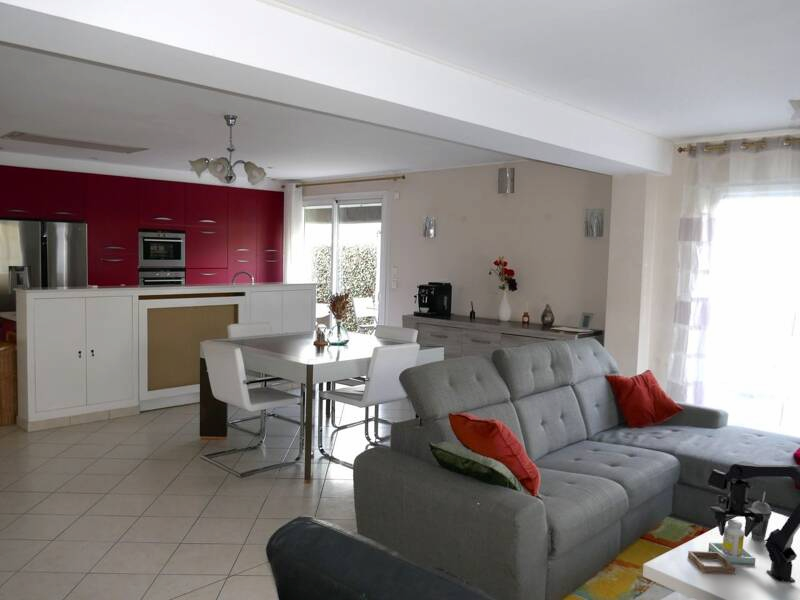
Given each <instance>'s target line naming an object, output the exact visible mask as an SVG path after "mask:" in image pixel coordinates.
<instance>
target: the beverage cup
mask: <svg viewBox="0 0 800 600" xmlns="http://www.w3.org/2000/svg"><path fill="white" fill-rule="evenodd" d="M765 497H766V491H763V496H762V500H756V501H754V502H753V503H752V504H751V507H750V508H754V509H757V510H759V511H760V512H761V513H763V514H764V522H761V523H760V524H757V525H756V526H755V528H754V529H753V530H752V531H751V532H750V533H751V539H753V540H754V541H757V542H765V540H766V535H767V530H768V526H769V521H770V518H771V515H772V508H771V506H770V505H769V503H767V502H766V501H765Z"/></svg>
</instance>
